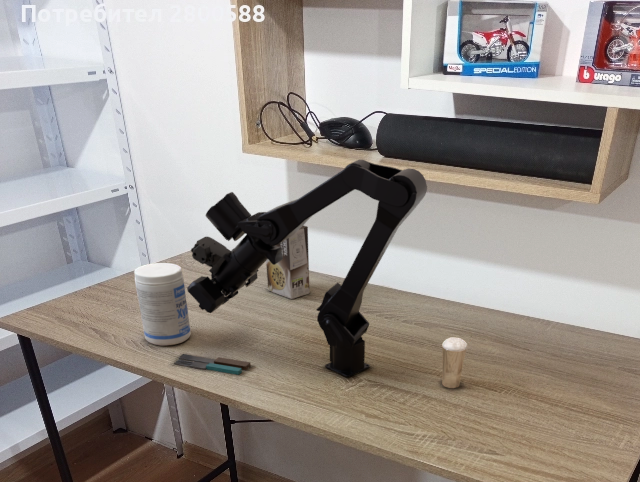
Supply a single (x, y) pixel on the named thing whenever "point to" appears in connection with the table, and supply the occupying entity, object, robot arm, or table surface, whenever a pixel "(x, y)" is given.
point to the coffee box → (291, 267)
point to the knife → (218, 361)
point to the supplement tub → (162, 303)
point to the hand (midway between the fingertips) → (201, 307)
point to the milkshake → (453, 361)
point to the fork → (209, 366)
